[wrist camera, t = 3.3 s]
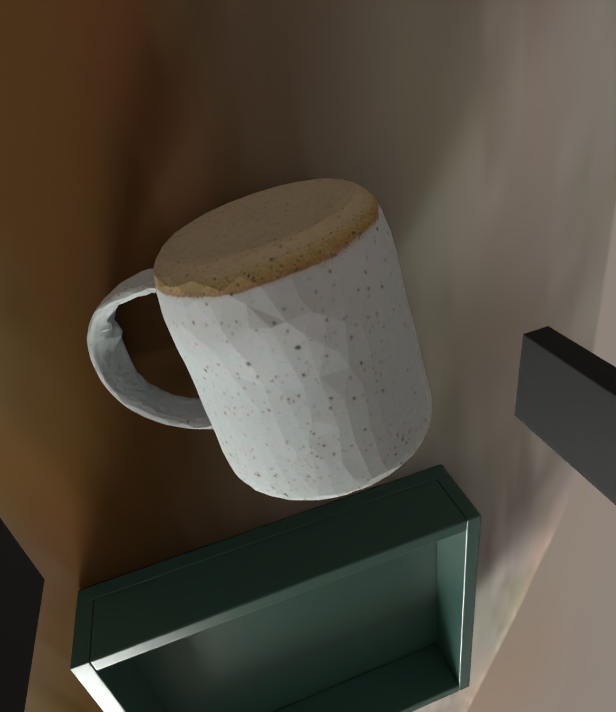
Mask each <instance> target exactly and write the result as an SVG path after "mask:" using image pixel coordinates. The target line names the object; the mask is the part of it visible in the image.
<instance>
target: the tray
mask: <svg viewBox="0 0 616 712" xmlns="http://www.w3.org/2000/svg"><path fill="white" fill-rule="evenodd" d="M480 524H481V515H480V513H479V512H478V511H477V509H476V508H475V507H474V506H473V504H472V503H471V502H470V500H469V499H468V498H467V497H466V495H465V494H464V493H463V492H462V490H461V489H460V488H459V486H458V485H457V484H456V483H455V481H454V480H453V479H452V477H451V476H450V475H449V473H448V472H447V471H446V469H445V468H444V467H443V466H442V465H439V466H436V467H433V468H430V469H427V470H424V471H421V472H419V473H416V474H413V475H410V476H407V477H404V478H401V479H399V480H396V481H393V482H390V483H387V484H384V485H381V486H378V487H376V488H373V489H370V490H367V491H364V492H361V493H358V494H355V495H353V496H350V497H347V498H344V499H341V500H338V501H335V502H332V503H330V504H327V505H324V506H321V507H318V508H315V509H312V510H309V511H307V512H304V513H301V514H298V515H295V516H292V517H289V518H287V519H284V520H281V521H278V522H275V523H272V524H269V525H266V526H264V527H261V528H258V529H255V530H252V531H249V532H246V533H243V534H241V535H238V536H235V537H232V538H229V539H226V540H223V541H220V542H218V543H215V544H212V545H209V546H206V547H203V548H200V549H197V550H195V551H192V552H189V553H186V554H183V555H180V556H177V557H175V558H172V559H169V560H166V561H163V562H160V563H157V564H154V565H152V566H149V567H146V568H143V569H140V570H137V571H134V572H131V573H129V574H126V575H123V576H120V577H117V578H114V579H111V580H108V581H106V582H103V583H100V584H97V585H94V586H91V587H88V588H85V589H83V590H80V591H78V598H77V607H76V617H75V627H74V637H73V647H72V657H71V667H70V669H71V671H72V672H73V673H74V675H75V676H76V677H77V678H78V680H79V681H80V682H81V683H82V685H83V686H84V687H85V688H86V690H87V691H88V692H89V693H90V695H91V696H92V697H93V698H94V700H95V701H96V702H97V703H98V705H99V706H100V707H101V708H102V710H103V711H104V712H412V711H414V710H417V709H419V708H421V707H423V706H426V705H428V704H430V703H432V702H435V701H437V700H439V699H441V698H444V697H446V696H448V695H450V694H453V693H455V692H457V691H459V690H462V689H464V688H466V687H469V681H470V667H471V652H472V638H473V624H474V609H475V595H476V581H477V566H478V552H479V538H480Z"/></svg>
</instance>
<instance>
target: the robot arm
mask: <svg viewBox="0 0 616 712" xmlns="http://www.w3.org/2000/svg"><path fill="white" fill-rule="evenodd" d="M514 415H515V416H516V417H517V418H518V419H519V420H520V421H521V422H523V423H524V424H525V425H526V426H527V427H528V428H529V429H530V430H532V431H533V432H534V433H535V434H536V435H537V436H538V437H539V438H541V439H542V440H543V441H544V442H545V443H546V444H547V445H548V446H550V447H551V448H552V449H553V450H554V451H555V452H556V453H557V454H559V455H560V456H561V457H562V458H563V459H564V460H565V461H567V462H568V463H569V464H570V465H571V466H572V467H573V468H574V469H576V470H577V471H578V472H579V473H580V474H581V475H582V476H583V477H585V478H586V479H587V480H588V481H589V482H590V483H591V484H592V485H594V486H595V487H596V488H597V489H598V490H599V491H600V492H601V493H603V494H604V495H605V496H606V497H607V498H608V499H609V500H610V501H612V502H613V503H614V504H615V505H616V367H614V366H613V365H611V364H609V363H608V362H606V361H604V360H603V359H601V358H600V357H598V356H596V355H595V354H593V353H591V352H590V351H588V350H586V349H585V348H583V347H581V346H580V345H578V344H577V343H575V342H573V341H572V340H570V339H568V338H567V337H565V336H563V335H562V334H560V333H558V332H557V331H555V330H554V329H552V328H550V327H549V326H547V327H544V328H541V329H538V330H534V331H531V332H528V333H525V334H523V340H522V349H521V359H520V368H519V377H518V386H517V395H516V405H515V414H514ZM43 585H44V578H43V577H42V576H41V574H40V573H39V571H38V570H37V569H36V567H35V566H34V564H33V563H32V562H31V560H30V559H29V557H28V556H27V555H26V553H25V552H24V550H23V549H22V548H21V546H20V545H19V543H18V542H17V541H16V539H15V538H14V537H13V535H12V534H11V532H10V531H9V530H8V528H7V527H6V525H5V524H4V523H3V521H2V520H1V518H0V712H24V709H25V703H26V696H27V690H28V683H29V677H30V670H31V664H32V657H33V651H34V644H35V638H36V631H37V625H38V618H39V612H40V605H41V599H42V592H43Z"/></svg>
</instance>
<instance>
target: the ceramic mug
mask: <svg viewBox="0 0 616 712" xmlns="http://www.w3.org/2000/svg"><path fill="white" fill-rule="evenodd" d="M150 293H157V296H158V300H159V303H160V307H161V311H162V314H163V317H164V320H165V323H166V325H167V327H168V329H169V332H170V334H171V336H172V338H173V341H174V343H175V345H176V347H177V349H178V351H179V353H180V355H181V357H182V359H183V361H184V362H185V364H186V366H187V369H188V371H189V373H190V375H191V377H192V380H193V382H194V384H195V386H196V389H197V391H198V394H199V396H200V399H196V398H188V397H183V396H178V395H175V394H171V393H169V392H167V391H164V390H162V389H160V388H158V387H156V386H154V385H152V384H150V383H149V382H147V381H146V380H145V379H144V378H143V376H142V375H140V374H139V373H138V372H137V371H136V369H135V367H134V366H133V363H132V361H131V359H130V356H129V354H128V352H127V350H126V347H125V345H124V343H123V340H122V332H123V331H122V329H121V328H120V326H119V325H118V323H117V322H116V320H115V319H114V318H115V312H116V308H117V307H118V306H119V304H122V303H125V302H127V301H129V300H131V299H133V298H136V297H138V296H144V295H148V294H150ZM87 344H88V350H89V353H90V358H91V361H92V364H93V366H94V368H95V370H96V372H97V374H98V376H99V378H100V379H101V381H102V382H103V384H104V385H105V387H106V388H107V389H108V390H109V392H110V393H111V394H112V395H113V396H114V397H115V398H116V399H117V400H119V401H120V402H121V403H122V404H123V405H125V406H126V407H128V408H129V409H130V410H132V411H134V412H136V413H138V414H139V415H141V416H143V417H146V418H149V419H151V420H154V421H157V422H159V423H163V424H166V425H171V426H176V427H182V428H187V429H214V431H215V433H216V436H217V438H218V441H219V443H220V446H221V448H222V451H223V453H224V455H225V457H226V459H227V460H228V462H229V464H230V466H231V467H232V469H233V471H234V472H235V474H236V475H237V476H238V477H239V478H240V479H241V480H243V481H244V482H245V483H247V484H248V485H249V486H251V487H252V488H253V489H254V490H256V491H259V492H262V493H264V494H267V495H269V496H274V497H279V498H283V499H287V500H323V499H330V498H334V497H339V496H343V495H347V494H350V493H351V492H353V491H356V490H361V489H364V488H366V487H368V486H371V485H373V484H375V483H376V482H378V481H380V480H381V479H383V478H385V477H387V476H388V475H390V474H391V473H393V472H394V471H395V470H396V469H397V468H399V467H400V466H401V465H402V464H404V463H405V462H406V461H407V460H408V459H409V458H410V457H411V456H412V455H413V454H414V453H415V451H416V450H417V449H418V448H419V446H420V445H421V443H422V442H423V440H424V438H425V436H426V433H427V431H428V429H429V425H430V421H431V416H432V398H431V392H430V389H429V385H428V381H427V377H426V373H425V370H424V366H423V361H422V357H421V353H420V348H419V343H418V340H417V335H416V332H415V327H414V323H413V319H412V315H411V311H410V307H409V303H408V300H407V298H406V293H405V289H404V284H403V279H402V274H401V269H400V265H399V260H398V255H397V251H396V248H395V244H394V241H393V237H392V233H391V230H390V228H389V226H388V224H387V221H386V219H385V216H384V214H383V211H382V209H381V207H380V205H379V204H378V202H377V200H376V199H375V197H374V196H373V195H372V194H371V193H370V192H369V191H368V190H367V189H365V188H364V187H362V186H360V185H359V184H356V183H354V182H351V181H349V180H344V179H338V178H321V179H312V180H305V181H298V182H294V183H289V184H284V185H280V186H277V187H273V188H270V189H266V190H263V191H260V192H256V193H253V194H250V195H248V196H245V197H242V198H240V199H237V200H234V201H232V202H229V203H227V204H225V205H222V206H220V207H218V208H216V209H214V210H212V211H210V212H207V213H205V214H204V215H202V216H200V217H198V218H197V219H195V220H193V221H192V222H190V223H189V224H187V225H186V226H184V227H183V228H181V229H180V230H178V231H177V232H175V233H174V234H173V235H172V236H171V237H170V239H169V240H168V241H167V242H166V243H165V244H164V245H163V246H162V248H161V250H160V252H159V254H158V256H157V258H156V260H155V264H154V268H153V269H147V270H144V271H141V272H139V273H138V274H136V275H134V276H132V277H130V278H128V279H127V280H125V281H123V282H121V283H120V284H119V285H118V286H117V287H116V288H115V289H114V290H113V291H111V292H110V293H109V294H108V295H107V296H106V297H105V298H104V299H103V300H102V302H101V303H100V305H99V306H98V307H97V309H96V310H95V312H94V314H93V317H92V319H91V321H90V324H89V329H88V334H87Z"/></svg>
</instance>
